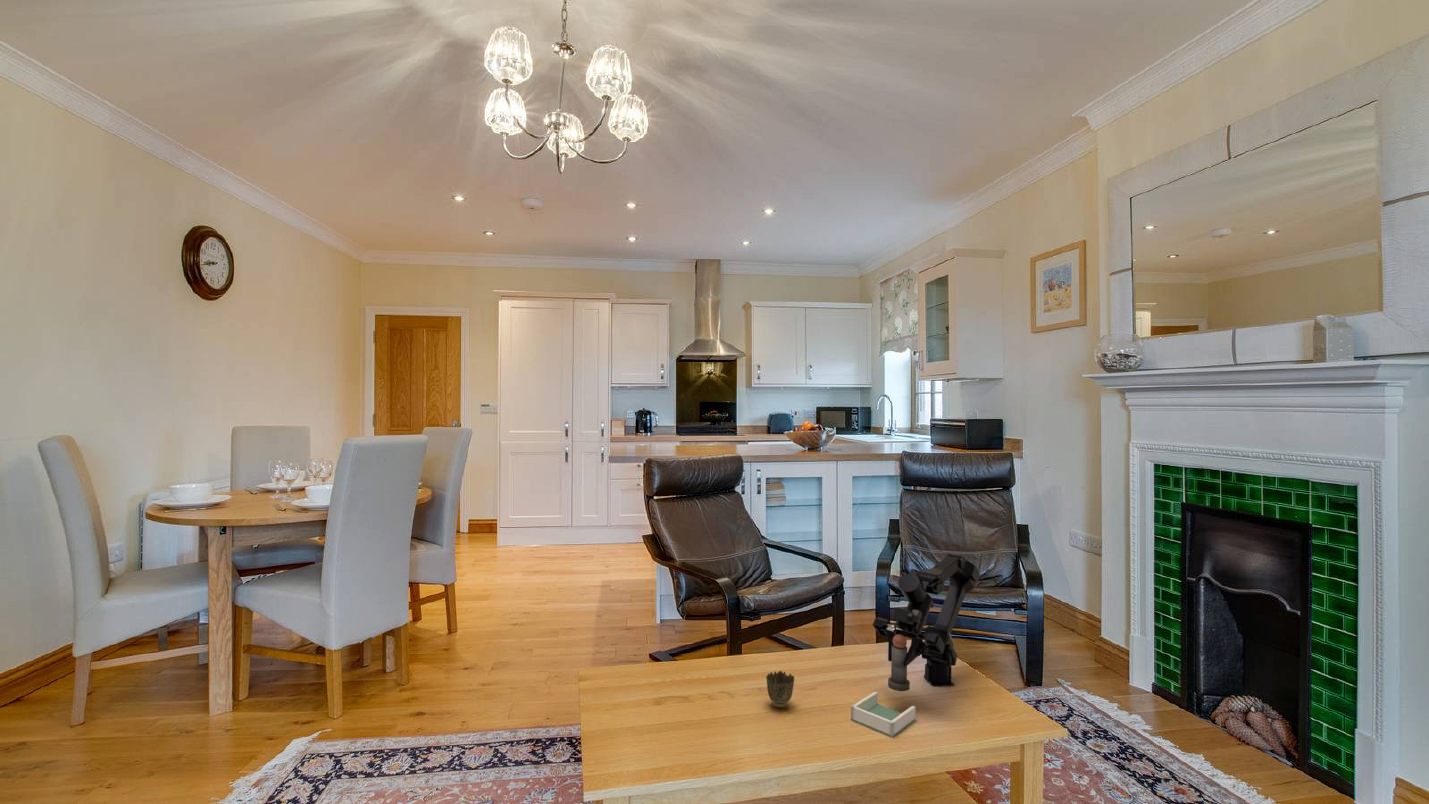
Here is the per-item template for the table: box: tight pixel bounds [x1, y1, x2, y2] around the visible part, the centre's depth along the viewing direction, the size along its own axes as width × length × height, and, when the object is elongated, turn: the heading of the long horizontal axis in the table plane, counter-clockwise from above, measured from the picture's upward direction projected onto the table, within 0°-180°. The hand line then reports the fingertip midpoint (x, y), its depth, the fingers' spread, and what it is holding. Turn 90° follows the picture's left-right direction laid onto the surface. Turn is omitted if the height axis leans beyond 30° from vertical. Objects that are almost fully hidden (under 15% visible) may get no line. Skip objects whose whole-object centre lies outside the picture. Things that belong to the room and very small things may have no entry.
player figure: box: [887, 634, 911, 692], centre depth 166 cm, size 6×6×14 cm
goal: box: [850, 691, 917, 738], centre depth 160 cm, size 12×12×4 cm
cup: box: [765, 670, 795, 710], centre depth 167 cm, size 8×7×8 cm
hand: (896, 663), depth 165 cm, fingers closed on player figure, 4 cm apart
